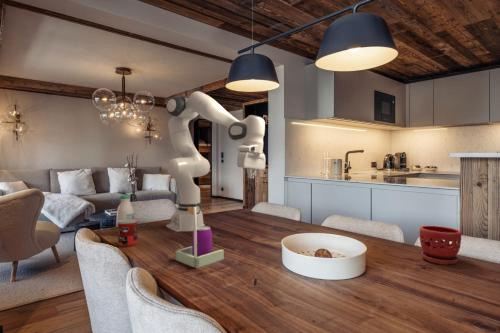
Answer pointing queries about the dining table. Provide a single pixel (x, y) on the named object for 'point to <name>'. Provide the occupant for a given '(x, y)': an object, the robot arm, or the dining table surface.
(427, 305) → the dining table surface
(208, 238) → the beverage can
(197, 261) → the cup corral
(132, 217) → the milk bottle
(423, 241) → the plant pot
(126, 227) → the canned food
